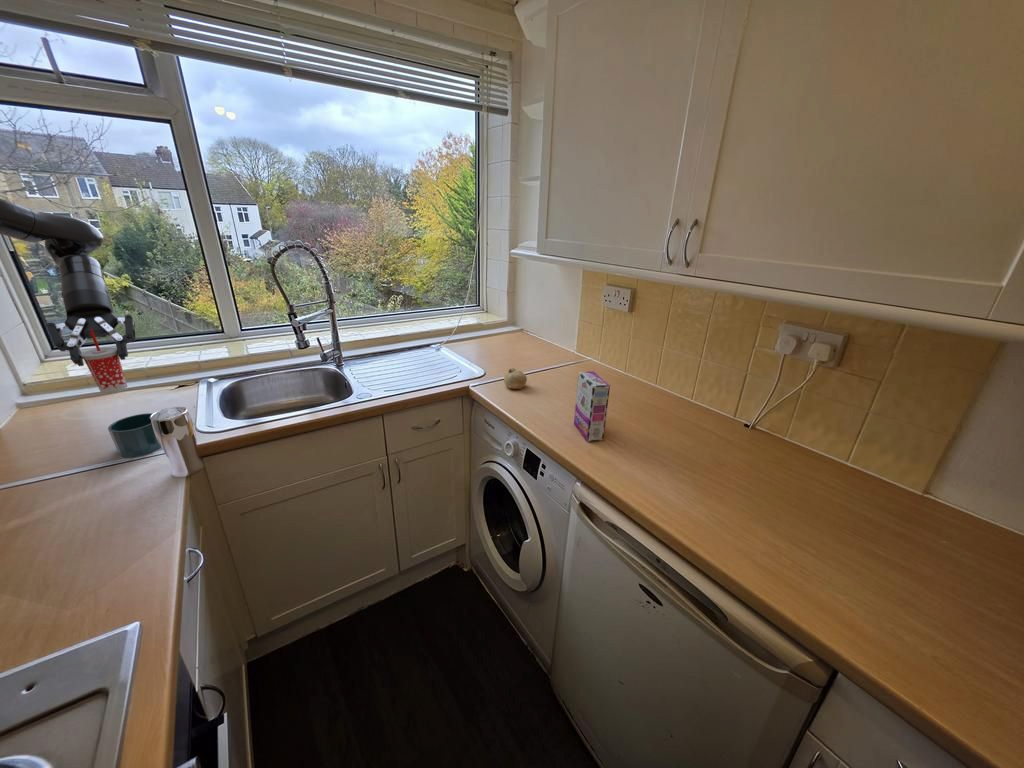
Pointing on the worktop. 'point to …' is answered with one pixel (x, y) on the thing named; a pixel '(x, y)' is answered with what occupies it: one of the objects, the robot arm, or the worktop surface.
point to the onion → (515, 379)
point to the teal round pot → (134, 436)
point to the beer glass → (177, 440)
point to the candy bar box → (591, 406)
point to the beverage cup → (105, 368)
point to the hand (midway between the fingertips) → (101, 361)
